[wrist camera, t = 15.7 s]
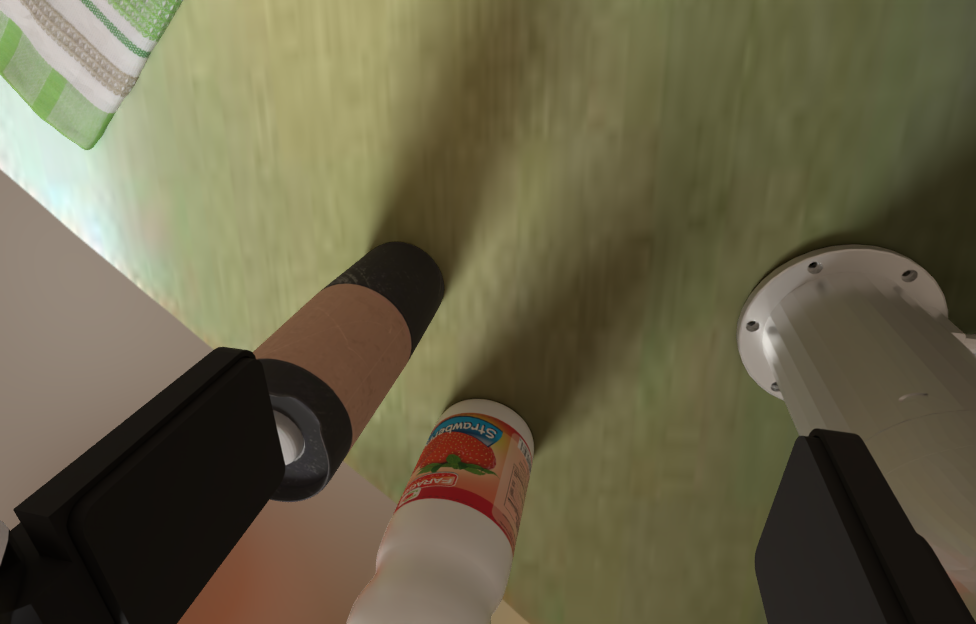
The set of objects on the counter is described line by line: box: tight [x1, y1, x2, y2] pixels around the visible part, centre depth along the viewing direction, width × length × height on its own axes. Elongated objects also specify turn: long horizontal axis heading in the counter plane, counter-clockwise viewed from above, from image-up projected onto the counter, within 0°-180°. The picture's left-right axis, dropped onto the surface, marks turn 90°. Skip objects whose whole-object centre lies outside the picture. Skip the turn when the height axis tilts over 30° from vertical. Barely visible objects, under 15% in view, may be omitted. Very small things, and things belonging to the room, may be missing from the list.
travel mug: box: [253, 242, 444, 502], centre depth 35 cm, size 8×8×20 cm
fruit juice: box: [346, 399, 534, 624], centre depth 38 cm, size 9×9×28 cm
